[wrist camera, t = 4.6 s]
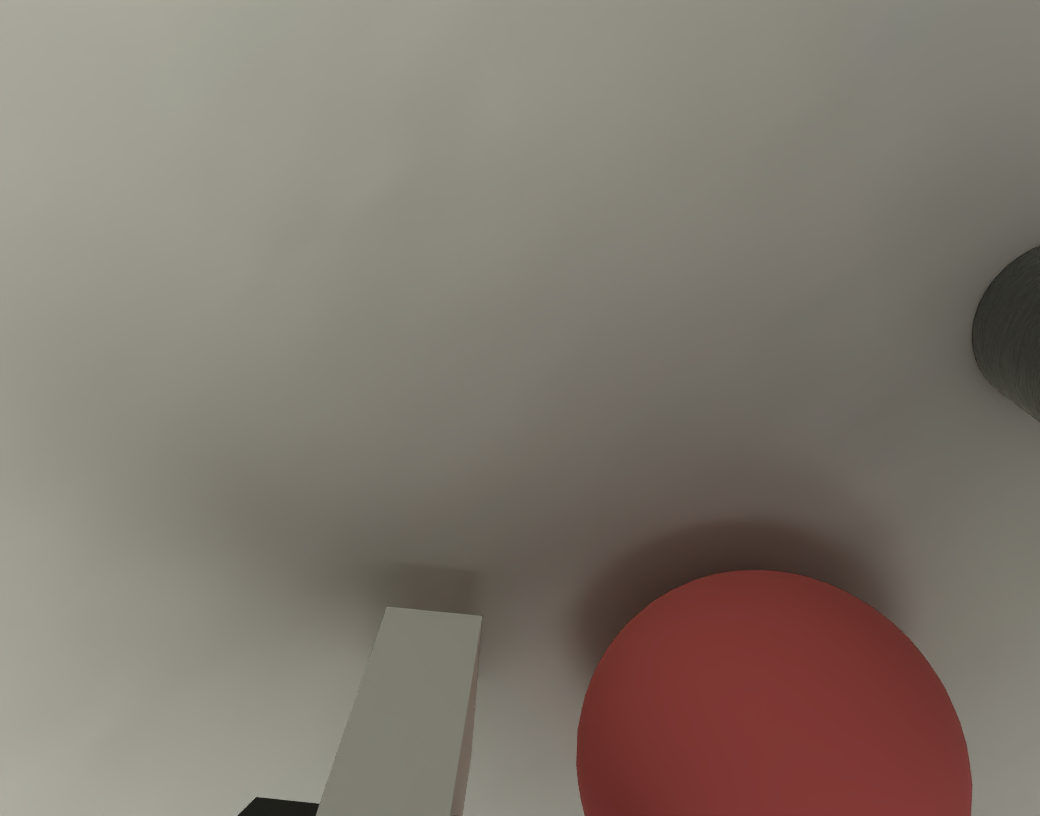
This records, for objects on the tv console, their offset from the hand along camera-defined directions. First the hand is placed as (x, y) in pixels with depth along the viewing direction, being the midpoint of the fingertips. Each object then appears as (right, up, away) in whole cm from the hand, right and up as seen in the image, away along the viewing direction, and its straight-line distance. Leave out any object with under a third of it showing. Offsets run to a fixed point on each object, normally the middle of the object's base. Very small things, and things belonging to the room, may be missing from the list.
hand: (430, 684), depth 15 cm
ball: (+5, -1, -1) cm, 5 cm away
